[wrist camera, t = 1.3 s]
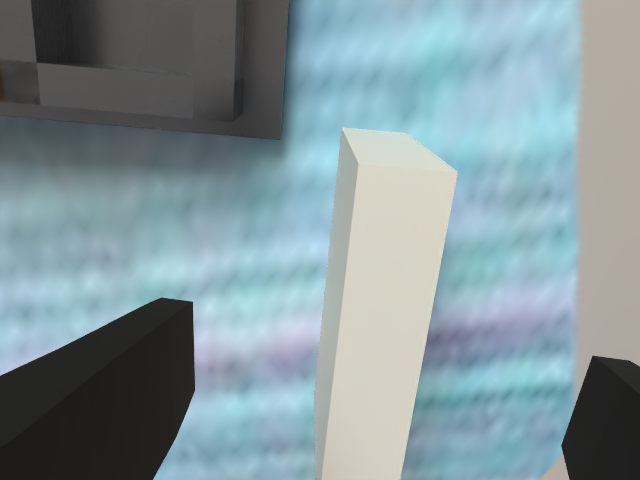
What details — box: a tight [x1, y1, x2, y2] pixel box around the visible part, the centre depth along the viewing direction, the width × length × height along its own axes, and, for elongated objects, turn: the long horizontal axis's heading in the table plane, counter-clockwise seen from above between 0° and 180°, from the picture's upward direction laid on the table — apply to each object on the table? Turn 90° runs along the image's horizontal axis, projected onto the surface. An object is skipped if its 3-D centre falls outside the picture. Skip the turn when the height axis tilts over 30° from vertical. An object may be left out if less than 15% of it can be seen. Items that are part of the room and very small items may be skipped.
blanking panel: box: [314, 128, 458, 480], centre depth 18 cm, size 12×2×7 cm, turn 175°
